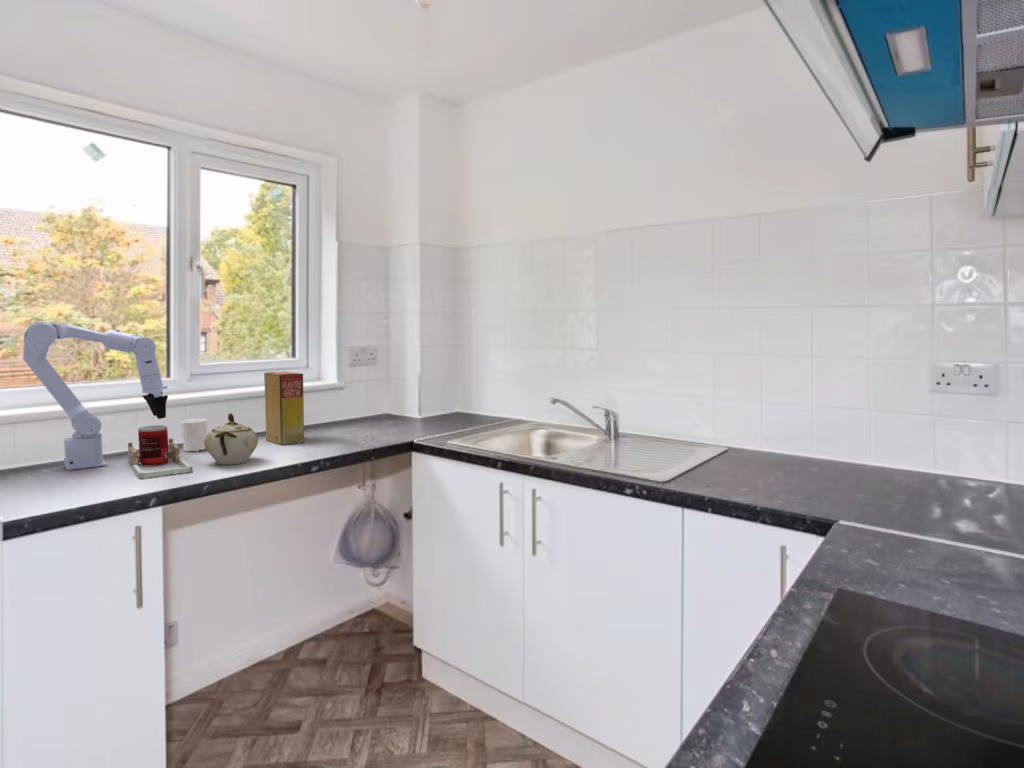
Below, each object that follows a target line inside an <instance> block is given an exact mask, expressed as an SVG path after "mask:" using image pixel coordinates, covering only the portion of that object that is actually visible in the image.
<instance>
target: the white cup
mask: <svg viewBox="0 0 1024 768" xmlns="http://www.w3.org/2000/svg"><path fill="white" fill-rule="evenodd" d="M180 431H181V437H182V440H181V441H182V445H183V451H184V450H185V451H184V452H186V451H196V452H200V451H199V450H203V451H205V450H204V449H206V448H205V445H204V440H205V438H206V436H207V435H208V419H205V418H191V419H184V420H183V419H182V420H181V421H180Z"/></svg>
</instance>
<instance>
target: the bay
mask: <svg viewBox="0 0 1024 768" xmlns="http://www.w3.org/2000/svg"><path fill="white" fill-rule="evenodd" d="M178 464H179V465H180V467H176V468H169V469H162V470H161V469H160V470H153V471H147V472H146V471H144V472H143V470H142V469H141V468H140V466H139V464H138V465H133V467H132V471H133V472H134V474H137V475H138V476H137V475H136V476H137V477H138V479H139V478H145V477H152V478H154V477H153V476H160V477H163V476H162V475H168V476H170V475H169V474H175V475H179V474H178V473H183V474H187V473H186V472H190V473H193V470H194V469H193V466H192V465H191V464H189V463H188V462H187V461H186V460H185V459H183V458H182V459H181V458H180V460H179V463H178ZM145 479H146V478H145Z"/></svg>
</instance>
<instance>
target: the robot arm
mask: <svg viewBox="0 0 1024 768" xmlns="http://www.w3.org/2000/svg"><path fill="white" fill-rule="evenodd" d="M67 338H68V339H70V338H73V339H78V340H83V341H84V340H85V341H90V342H94V343H95V342H97V343H101V344H102V345H103V346H104V348H105V349H108V350H113V351H119V352H123V353H129V354H130V353H133V354H134V357H135V361H136V362H135V364H136V369H137V370H138V371H137V372H138V376H139V380H140V384H141V388H142V390H141V392H142V394H143V395H142V398H143V399H144V400H145V401H146V403H147V405H148V407H149V409H150V410H151V413H152V415H153V417H155V416H156V418H157V419H158V420H161V419H166V417H167V400H168V397H169V395H167V394H165V395H163V393H164V392H163V391H164V390H166V389H169V387H168V386H169V385H164V384H163V380H162V375H161V372H160V367H159V361H158V358H157V357H156V356H157V355H156V350H157V344H155V342H154V341H153V340H152V339H151V338H149V337H146V336H142V335H141V336H140V335H139V334H138V333H133V334H131V333H127V332H124V331H123V332H122V331H121V329H118V328H115V329H110V330H108V331H105V332H101V331H98V330H95V329H88V328H84V327H80V326H75V325H73V324H66V323H56V322H47V321H36V322H33V323H30V324H29V326H28V327H27V329H26V331H25V333H24V335H23V352H22V353H23V354H22V357H23V358H22V359H23V361H24V362H25V363H26V365H27V366H28V368H30V370H31V371H32V372H33V373H34V375H35V376H36V377H37V379H38V380H39V381H40V382H41V383H42V384H43V386H44V388H46V389H47V391H48V392H49V394H50V395H51V396H52V397H53V399H55V401H56V403H58V404H59V406H60V408H62V410H63V411H64V412H65V414H66V415H67V416H68V417H69V419H70V421H71V426H72V428H73V429H74V432H73V434H72V435H71V437H67V438H63V441H64V442H63V447H64V457H63V461H64V462H63V464H65V468H66V470H67V471H70V470H71V471H72V470H77V469H78V470H79V469H87V468H95V467H97V468H98V467H105V466H107V463H106V461H105V460H104V456H103V455H104V453H103V452H104V451H103V437H102V436H103V435H102V432H101V428H102V422H101V420H100V419H99V418H98V417H96V416H95V415H94V414H93V413H91V412H89V411H88V409H87V408H86V406H84V404H82V403H81V401H80V400H79V398H77V395H75V393H74V392H73V391H72V390H71V388H69V387H70V386H68V385H67V384H66V382H65V381H64V380H63V378H62V377H61V376H60V375H59V373H58V372H57V371H56V370H55V368H54V367H53V365H52V364H51V363H50V362H49V361H48V359H47V358H46V357H47V355H48V352H49V349H50V347H51V345H52V344H53V343H54V342H55V341H56V339H57V340H62V339H63V340H65V339H67Z"/></svg>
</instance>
